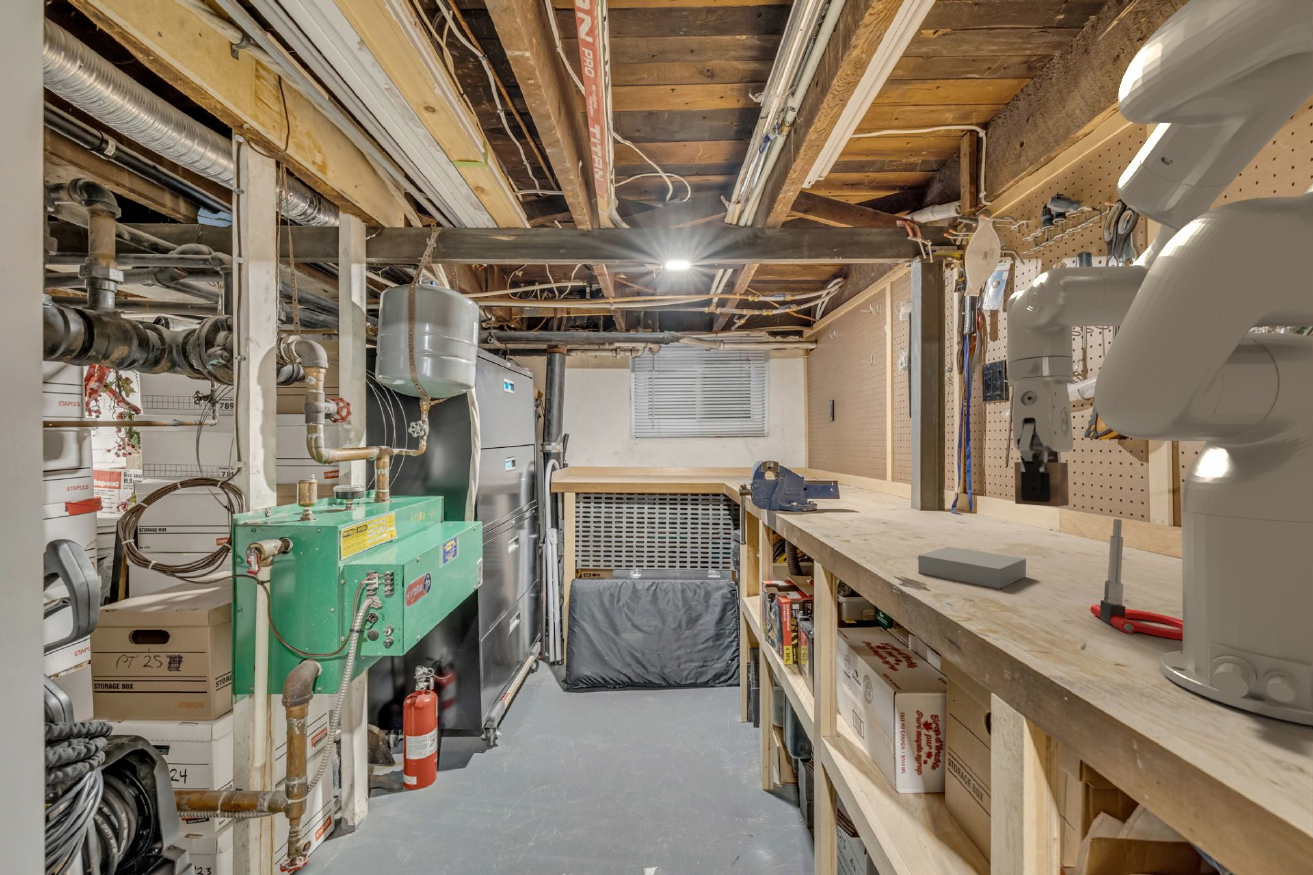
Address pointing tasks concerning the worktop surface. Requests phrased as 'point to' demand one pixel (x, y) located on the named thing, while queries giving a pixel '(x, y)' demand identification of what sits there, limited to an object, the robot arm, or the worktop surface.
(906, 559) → the worktop surface
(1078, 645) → the worktop surface
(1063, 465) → the walnut block
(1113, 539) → the red and grey piece
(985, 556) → the base slab
